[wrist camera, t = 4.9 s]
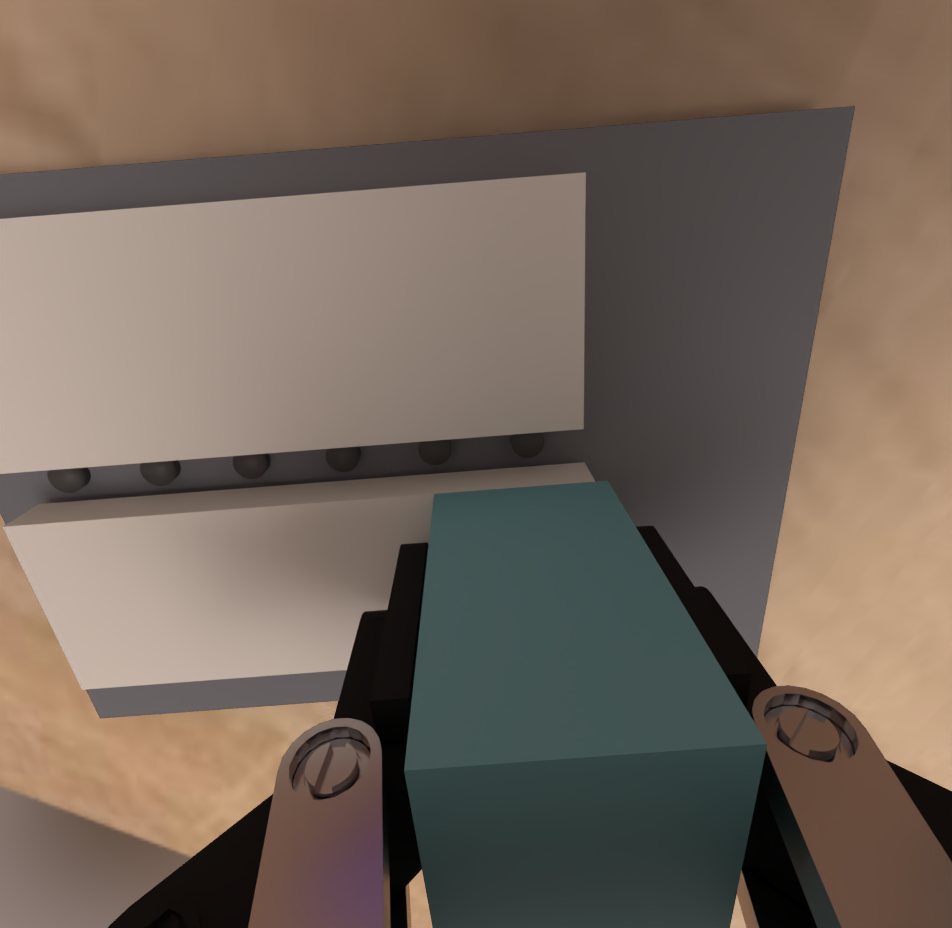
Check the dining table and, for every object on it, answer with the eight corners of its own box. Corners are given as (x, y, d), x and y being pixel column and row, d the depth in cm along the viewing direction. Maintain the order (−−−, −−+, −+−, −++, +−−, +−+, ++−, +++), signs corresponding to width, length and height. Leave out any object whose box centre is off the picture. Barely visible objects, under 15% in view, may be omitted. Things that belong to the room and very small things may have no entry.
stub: (596, 461, 11) (766, 744, 5) (592, 622, 13) (717, 985, 7) (39, 504, 12) (-492, 837, 5) (108, 658, 13) (-223, 1051, 7)
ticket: (571, 179, 10) (585, 172, 8) (571, 449, 12) (582, 470, 11) (-81, 232, 10) (-151, 230, 9) (35, 490, 12) (-9, 516, 11)
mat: (819, 118, 10) (854, 106, 9) (736, 643, 15) (754, 669, 14) (-103, 192, 10) (-159, 187, 9) (121, 689, 15) (100, 718, 14)
